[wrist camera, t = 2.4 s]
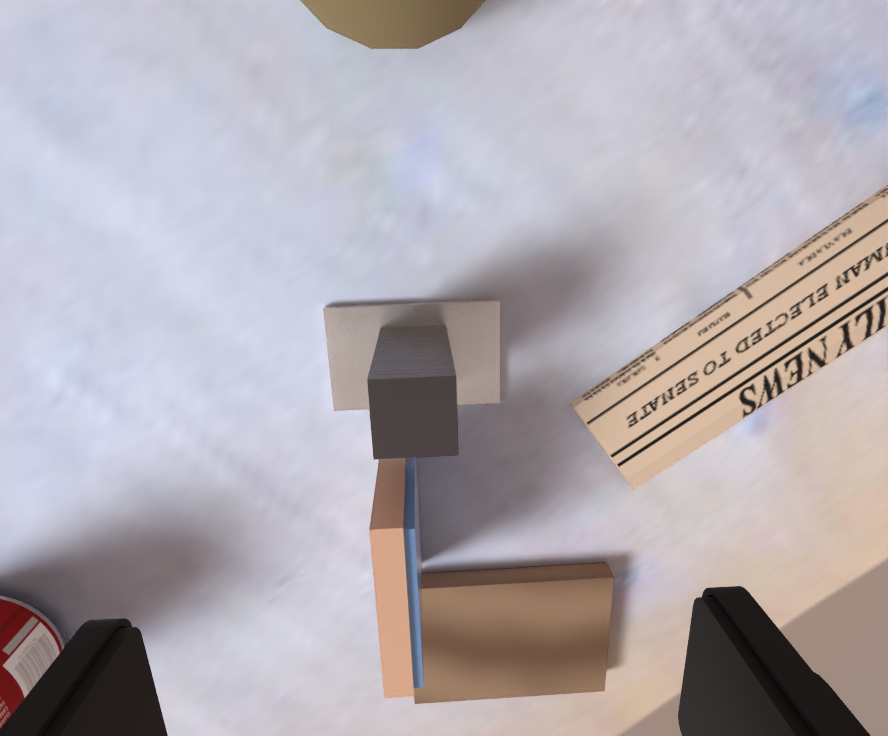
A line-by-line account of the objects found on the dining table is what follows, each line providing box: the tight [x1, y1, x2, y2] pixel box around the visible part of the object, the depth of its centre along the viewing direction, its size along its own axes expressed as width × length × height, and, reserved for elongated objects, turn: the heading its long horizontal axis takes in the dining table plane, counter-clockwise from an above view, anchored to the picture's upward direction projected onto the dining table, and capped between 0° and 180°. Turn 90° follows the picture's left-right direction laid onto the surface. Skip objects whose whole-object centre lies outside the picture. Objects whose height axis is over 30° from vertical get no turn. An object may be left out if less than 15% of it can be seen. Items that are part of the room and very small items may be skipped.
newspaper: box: [570, 185, 888, 490], centre depth 26 cm, size 24×7×2 cm, turn 127°
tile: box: [370, 457, 424, 698], centre depth 25 cm, size 8×2×8 cm, turn 2°
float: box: [323, 300, 500, 459], centre depth 22 cm, size 5×8×8 cm, turn 92°
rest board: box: [414, 563, 614, 704], centre depth 31 cm, size 8×11×1 cm
